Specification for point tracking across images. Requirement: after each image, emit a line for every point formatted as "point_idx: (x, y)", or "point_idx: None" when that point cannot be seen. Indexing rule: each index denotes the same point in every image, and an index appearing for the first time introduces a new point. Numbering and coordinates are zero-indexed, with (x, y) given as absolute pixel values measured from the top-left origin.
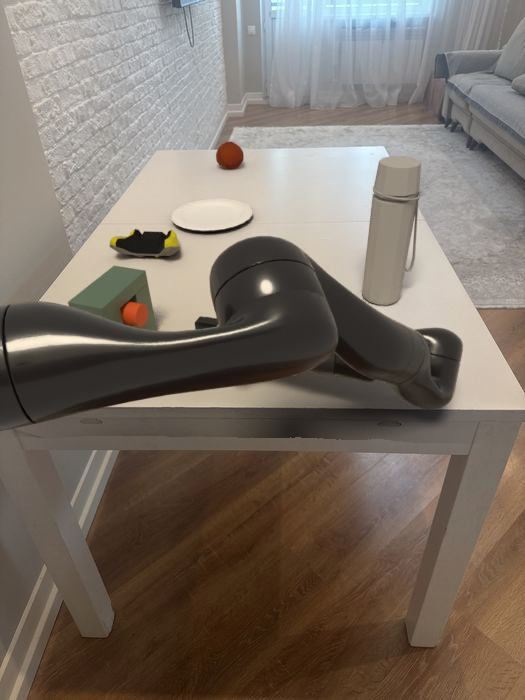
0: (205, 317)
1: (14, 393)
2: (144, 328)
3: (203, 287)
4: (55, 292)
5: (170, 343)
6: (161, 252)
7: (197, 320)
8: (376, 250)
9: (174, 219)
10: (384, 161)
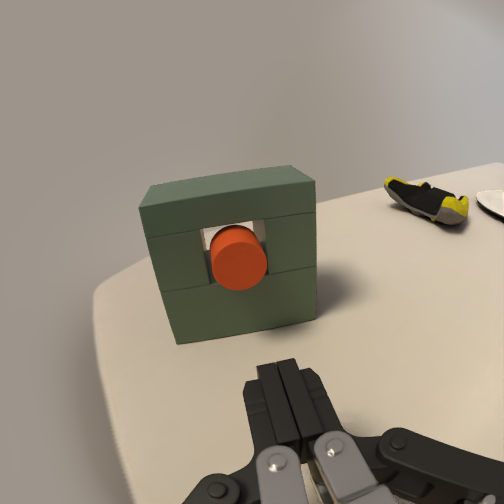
0: (300, 376)
1: None
2: (275, 300)
3: (460, 286)
4: None
5: None
6: (437, 214)
7: (264, 367)
8: None
9: (479, 195)
10: None
